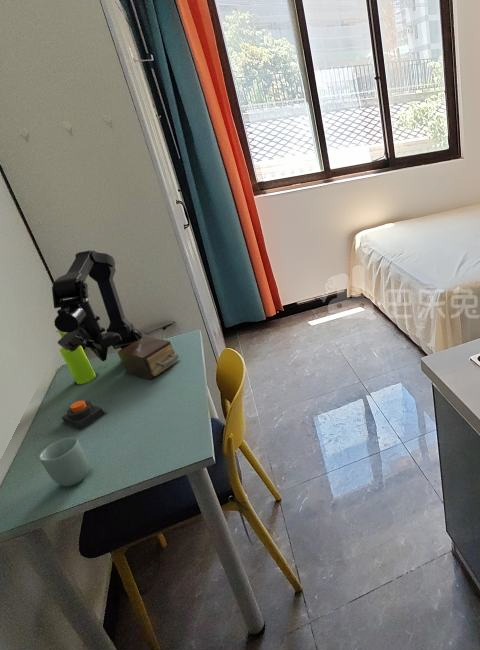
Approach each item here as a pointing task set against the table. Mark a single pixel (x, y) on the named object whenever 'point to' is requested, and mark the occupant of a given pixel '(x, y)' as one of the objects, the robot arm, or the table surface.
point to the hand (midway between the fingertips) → (104, 360)
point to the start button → (78, 406)
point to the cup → (65, 461)
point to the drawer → (162, 360)
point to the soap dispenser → (78, 363)
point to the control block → (83, 415)
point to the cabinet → (141, 355)
